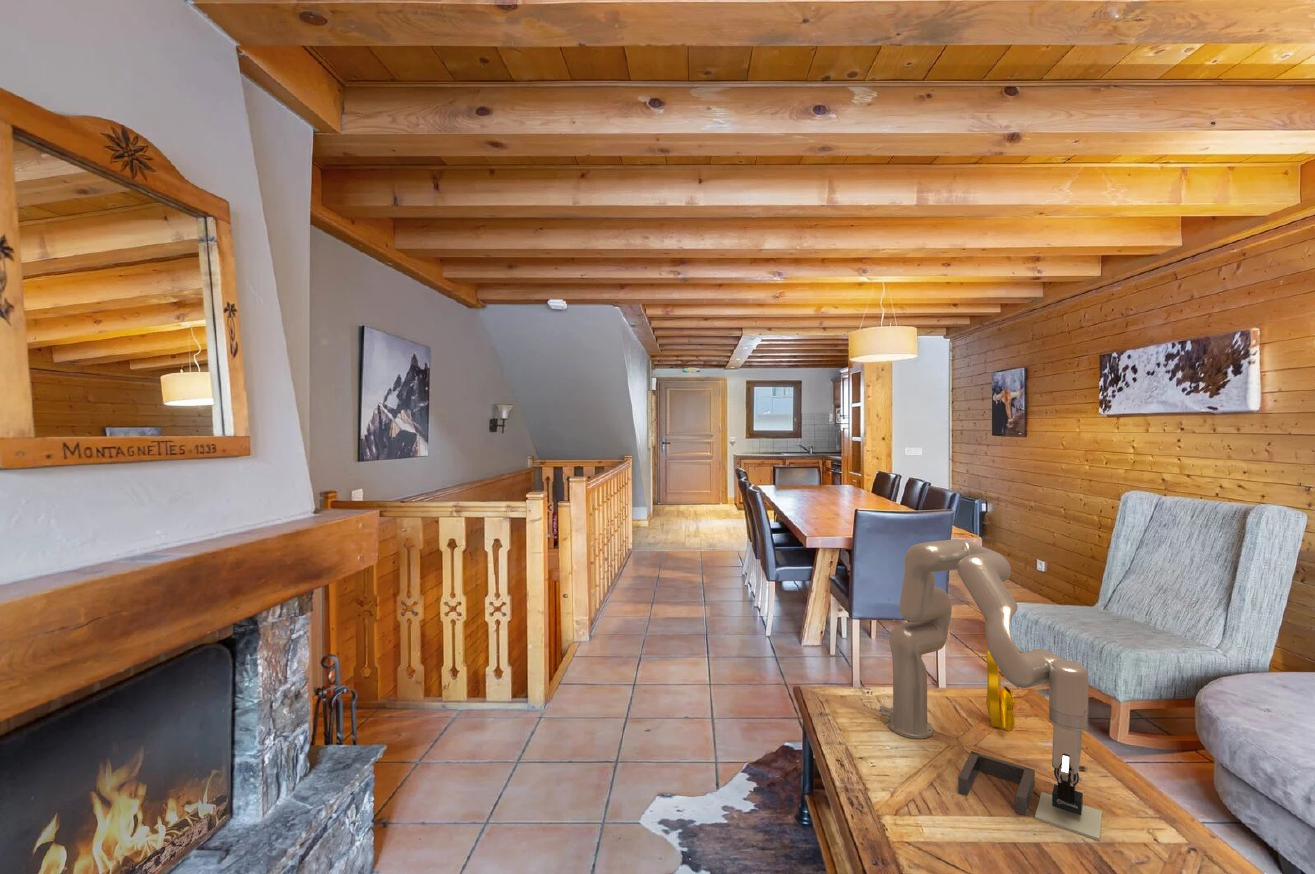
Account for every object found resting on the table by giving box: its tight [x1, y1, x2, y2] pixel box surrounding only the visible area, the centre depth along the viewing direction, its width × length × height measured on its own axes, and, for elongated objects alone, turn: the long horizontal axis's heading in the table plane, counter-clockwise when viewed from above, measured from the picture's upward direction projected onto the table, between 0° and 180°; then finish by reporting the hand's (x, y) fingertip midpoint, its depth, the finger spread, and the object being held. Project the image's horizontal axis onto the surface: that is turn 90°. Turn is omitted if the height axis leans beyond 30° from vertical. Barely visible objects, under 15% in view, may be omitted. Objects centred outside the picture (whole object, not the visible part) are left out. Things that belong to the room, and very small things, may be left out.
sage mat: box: [1034, 791, 1103, 842], centre depth 139 cm, size 12×12×1 cm
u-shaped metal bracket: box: [957, 750, 1036, 817], centre depth 150 cm, size 14×15×4 cm
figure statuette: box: [985, 649, 1016, 732], centre depth 182 cm, size 18×8×22 cm, turn 144°
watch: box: [1051, 767, 1084, 815], centre depth 139 cm, size 6×8×11 cm
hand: (1067, 790), depth 139 cm, fingers closed on watch, 8 cm apart
